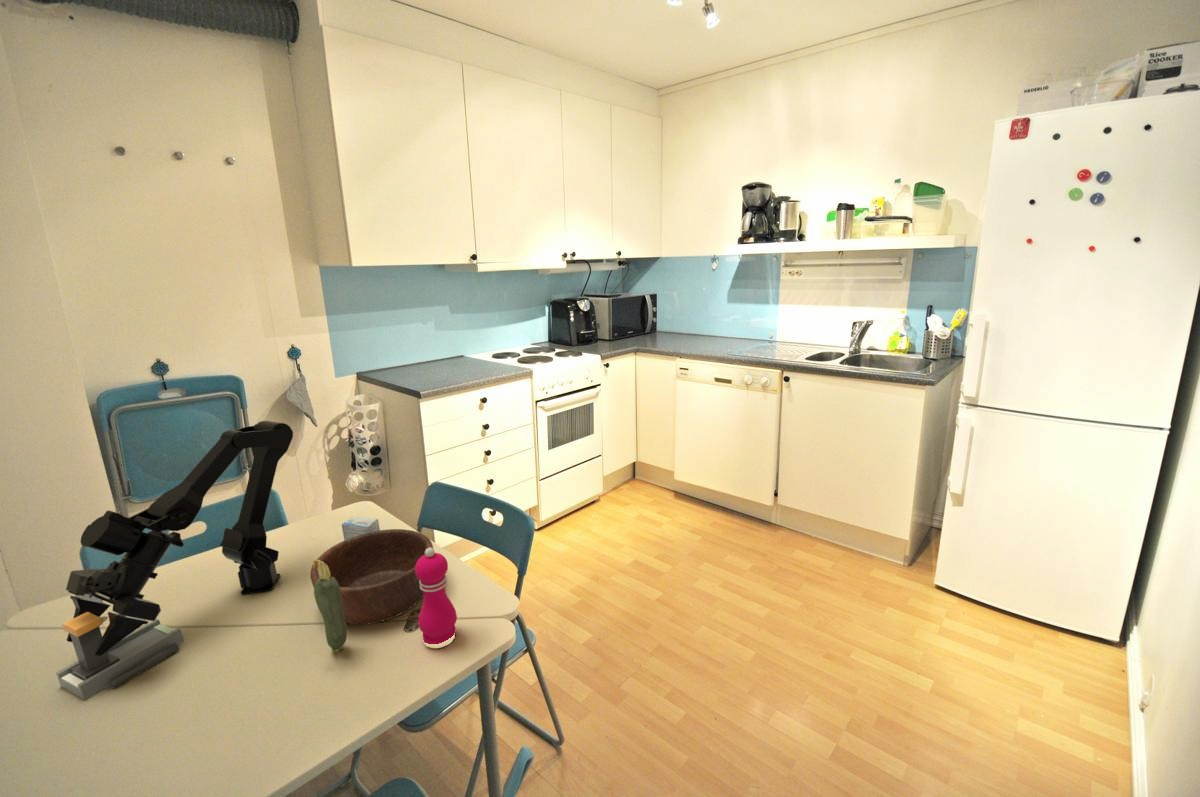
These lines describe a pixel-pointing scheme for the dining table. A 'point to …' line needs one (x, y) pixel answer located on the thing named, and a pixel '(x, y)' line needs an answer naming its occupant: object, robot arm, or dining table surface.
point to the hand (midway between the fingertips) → (83, 648)
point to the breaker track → (126, 659)
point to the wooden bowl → (376, 573)
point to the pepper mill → (435, 598)
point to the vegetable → (330, 606)
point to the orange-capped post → (88, 645)
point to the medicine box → (359, 526)
